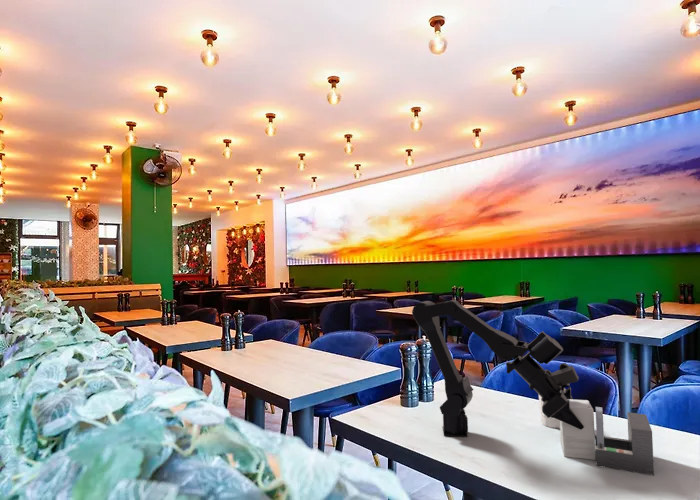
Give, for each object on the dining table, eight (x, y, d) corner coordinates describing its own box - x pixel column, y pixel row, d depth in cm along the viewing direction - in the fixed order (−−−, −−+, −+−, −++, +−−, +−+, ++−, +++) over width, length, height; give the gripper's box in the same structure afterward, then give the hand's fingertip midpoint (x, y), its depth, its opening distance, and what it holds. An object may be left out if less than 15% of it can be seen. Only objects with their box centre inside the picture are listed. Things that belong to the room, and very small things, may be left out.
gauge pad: (597, 461, 105) (596, 419, 106) (597, 445, 114) (595, 406, 115) (605, 463, 105) (603, 420, 105) (603, 446, 114) (602, 407, 114)
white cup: (571, 429, 128) (570, 395, 128) (542, 428, 130) (541, 394, 130) (564, 420, 136) (562, 387, 136) (536, 418, 137) (535, 386, 137)
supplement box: (591, 448, 115) (589, 399, 115) (596, 460, 108) (594, 409, 108) (560, 445, 118) (558, 397, 118) (563, 456, 111) (561, 406, 111)
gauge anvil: (596, 465, 105) (594, 423, 106) (595, 446, 116) (593, 408, 116) (654, 475, 100) (652, 431, 100) (647, 454, 111) (645, 414, 111)
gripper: (555, 363, 107) (609, 415, 102) (559, 348, 124) (606, 393, 118) (521, 391, 111) (572, 443, 105) (530, 374, 127) (574, 418, 122)
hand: (582, 422), depth 112 cm, fingers open, 8 cm apart
